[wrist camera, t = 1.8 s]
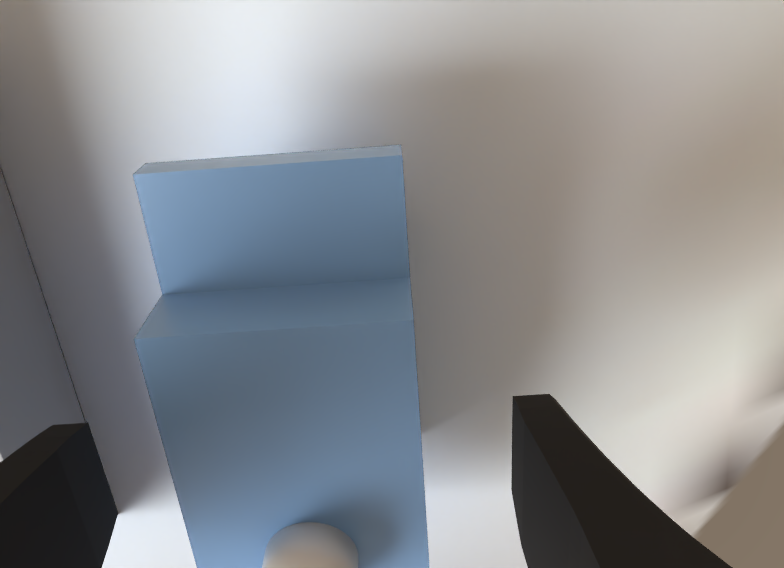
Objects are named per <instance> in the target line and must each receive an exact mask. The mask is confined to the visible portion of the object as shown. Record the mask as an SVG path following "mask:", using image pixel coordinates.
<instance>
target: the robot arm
mask: <svg viewBox="0 0 784 568" xmlns="http://www.w3.org/2000/svg"><path fill="white" fill-rule="evenodd" d="M512 495H513V501H514V507H515V512H516V518H517V524H518V529H519V534H520V540H521V545H522V549H523V552H524V556H525V559H526V563H527V566H528V568H732V567H731V566H729V565H728V564H727V563H725V562H724V561H723V560H721V559H720V558H718V556H716V555H715V554H714V553H712V552H711V551H710V550H709V549H707V548H706V547H705V546H703V545H702V544H701V543H700V542H698V541H697V540H696V539H694V538H693V537H692V536H691V535H690V534H688V533H687V532H686V531H685V530H684V529H682V528H681V527H680V526H679V525H678V524H677V523H675V522H674V521H673V520H672V519H671V518H670V517H669V516H667V515H666V514H665V513H664V512H663V511H662V510H661V509H660V508H659V507H657V506H656V505H655V504H654V503H653V502H652V501H651V500H650V499H649V498H647V497H646V496H645V495H644V494H643V493H642V492H641V491H640V490H639V489H638V488H637V487H636V486H635V485H634V484H633V483H632V482H631V481H630V480H629V479H628V478H627V477H626V476H625V475H624V474H623V473H622V472H621V471H620V470H619V469H618V468H617V467H616V466H615V465H614V464H613V463H612V462H611V461H610V460H609V459H608V458H607V457H606V456H605V455H604V454H603V453H602V452H601V451H600V450H599V449H598V447H597V446H596V445H595V444H594V443H593V442H592V441H591V440H590V439H589V438H588V436H587V435H586V434H585V433H584V432H583V431H582V430H581V429H580V428H579V426H578V425H577V424H576V423H575V422H574V421H573V420H572V418H571V417H570V416H569V415H568V414H567V413H566V411H565V410H564V409H563V408H562V407H561V405H560V404H559V403H558V402H557V401H556V400H555V399H554V398H553V397H552V396H551V395H550V394H542V395H526V396H513V415H512ZM117 515H118V511H117V508H116V505H115V502H114V499H113V496H112V493H111V490H110V487H109V484H108V481H107V478H106V475H105V472H104V469H103V466H102V463H101V460H100V458H99V455H98V452H97V449H96V446H95V443H94V440H93V437H92V434H91V431H90V428H89V425H88V423H75V424H58V425H52V426H50V427H49V428H47V429H46V430H44V431H42V432H41V433H40V434H38V435H37V436H35V437H34V438H32V439H31V440H30V441H28V442H27V443H26V444H24V445H23V446H21V447H20V448H19V449H17V450H16V451H15V452H13V453H12V454H11V455H9V456H8V457H7V458H5V459H4V460H3V461H1V462H0V568H102V564H103V561H104V558H105V555H106V552H107V549H108V546H109V543H110V539H111V536H112V532H113V529H114V525H115V522H116V518H117Z"/></svg>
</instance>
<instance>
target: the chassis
mask: <svg viewBox="0 0 784 568" xmlns="http://www.w3.org/2000/svg"><path fill="white" fill-rule="evenodd" d="M75 423H85V420H84V417H83V414H82V411H81V408H80V405H79V402H78V399H77V396H76V393H75V390H74V387H73V384H72V381H71V378H70V375H69V372H68V369H67V366H66V363H65V360H64V357H63V354H62V351H61V348H60V345H59V342H58V339H57V336H56V333H55V330H54V327H53V324H52V321H51V318H50V315H49V312H48V309H47V306H46V303H45V300H44V297H43V294H42V291H41V288H40V285H39V282H38V279H37V276H36V273H35V270H34V267H33V264H32V261H31V258H30V255H29V252H28V249H27V246H26V243H25V240H24V237H23V234H22V231H21V228H20V225H19V222H18V219H17V216H16V213H15V210H14V207H13V204H12V201H11V198H10V195H9V192H8V189H7V186H6V183H5V180H4V177H3V174H2V171H1V168H0V462H1V461H3V460H4V459H5V458H7V457H8V456H9V455H11V454H12V453H13V452H15V451H16V450H17V449H19V448H20V447H21V446H23V445H24V444H26V443H27V442H28V441H30V440H31V439H32V438H34V437H35V436H37V435H38V434H40V433H41V432H42V431H44V430H46V429H47V428H49V427H50V426H52V425H58V424H75Z"/></svg>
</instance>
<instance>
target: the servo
mask: <svg viewBox="0 0 784 568" xmlns="http://www.w3.org/2000/svg"><path fill="white" fill-rule="evenodd" d="M133 177H134V181H135V185H136V189H137V193H138V197H139V201H140V206H141V210H142V214H143V218H144V222H145V226H146V230H147V234H148V238H149V242H150V246H151V250H152V254H153V258H154V262H155V266H156V270H157V274H158V278H159V282H160V287H161V291H162V296H161V298H160V299H159V301H158V302H157V304H156V305H155V307H154V308H153V310H152V312H151V313H150V315H149V316H148V318H147V319H146V321H145V322H144V324H143V326H142V327H141V329H140V330H139V332H138V333H137V335H136V336H135V338H134V342H135V345H136V349H137V353H138V356H139V360H140V363H141V367H142V371H143V374H144V378H145V381H146V385H147V389H148V392H149V396H150V399H151V403H152V407H153V410H154V414H155V418H156V421H157V425H158V428H159V432H160V436H161V439H162V443H163V446H164V450H165V454H166V457H167V461H168V464H169V468H170V472H171V475H172V479H173V483H174V486H175V490H176V493H177V497H178V501H179V504H180V508H181V511H182V515H183V519H184V522H185V526H186V529H187V533H188V537H189V540H190V544H191V548H192V551H193V555H194V558H195V562H196V566H197V568H429V553H428V537H427V522H426V506H425V490H424V475H423V459H422V443H421V427H420V412H419V396H418V380H417V365H416V349H415V333H414V318H413V306H412V295H411V283H410V269H409V254H408V238H407V223H406V207H405V192H404V176H403V161H402V149H401V145H391V146H377V147H364V148H350V149H336V150H322V151H308V152H294V153H281V154H267V155H253V156H239V157H225V158H211V159H198V160H184V161H170V162H156V163H145V164H144V165H143V166H142V167H141V168H140V169H139V170H137V171H136V172H135V173H134V174H133Z"/></svg>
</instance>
